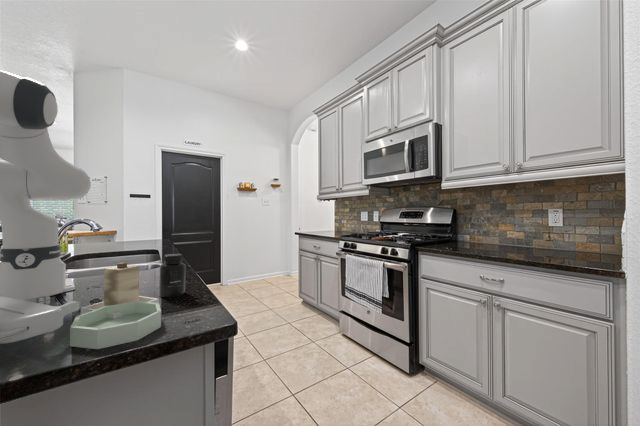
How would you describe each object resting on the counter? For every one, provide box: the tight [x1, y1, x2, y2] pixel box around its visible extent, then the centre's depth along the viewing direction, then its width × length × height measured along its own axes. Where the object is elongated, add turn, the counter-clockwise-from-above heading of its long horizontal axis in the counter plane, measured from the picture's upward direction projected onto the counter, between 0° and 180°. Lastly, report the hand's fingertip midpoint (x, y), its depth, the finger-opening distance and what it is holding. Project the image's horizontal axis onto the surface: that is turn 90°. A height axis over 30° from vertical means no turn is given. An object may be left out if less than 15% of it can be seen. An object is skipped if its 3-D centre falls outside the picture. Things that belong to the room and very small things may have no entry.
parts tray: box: [80, 295, 160, 319], centre depth 66 cm, size 11×11×2 cm
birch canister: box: [103, 262, 140, 306], centre depth 66 cm, size 5×5×12 cm
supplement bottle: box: [158, 253, 186, 299], centre depth 79 cm, size 7×7×12 cm
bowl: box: [69, 301, 162, 350], centre depth 55 cm, size 14×14×4 cm
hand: (62, 302), depth 54 cm, fingers open, 8 cm apart
